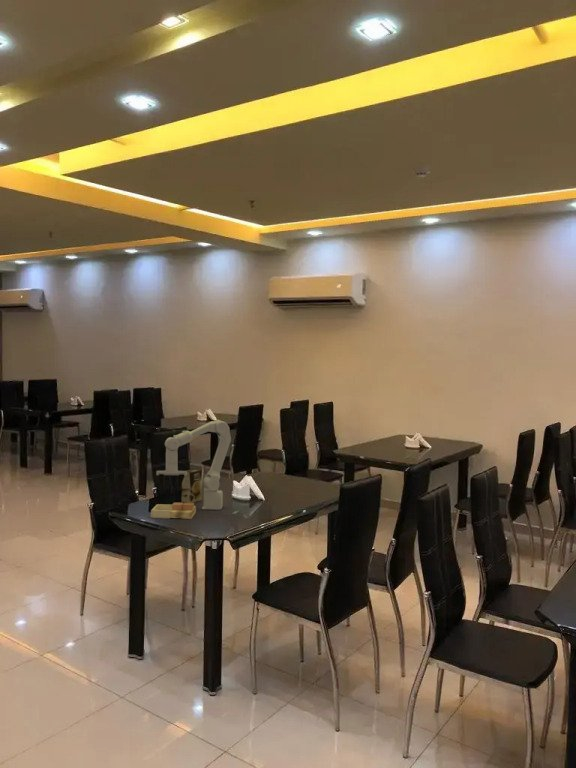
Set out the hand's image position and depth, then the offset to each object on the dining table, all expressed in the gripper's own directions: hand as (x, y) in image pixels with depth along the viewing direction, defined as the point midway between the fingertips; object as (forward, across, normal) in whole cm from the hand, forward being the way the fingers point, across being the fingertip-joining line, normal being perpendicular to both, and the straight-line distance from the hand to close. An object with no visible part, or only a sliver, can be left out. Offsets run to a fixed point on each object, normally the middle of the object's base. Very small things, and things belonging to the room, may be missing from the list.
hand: (171, 489), depth 303 cm
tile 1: (+7, -4, +8) cm, 12 cm away
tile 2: (+7, -10, +8) cm, 14 cm away
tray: (+10, +2, +8) cm, 13 cm away
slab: (+10, -7, +8) cm, 15 cm away
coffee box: (+11, -6, -22) cm, 25 cm away
